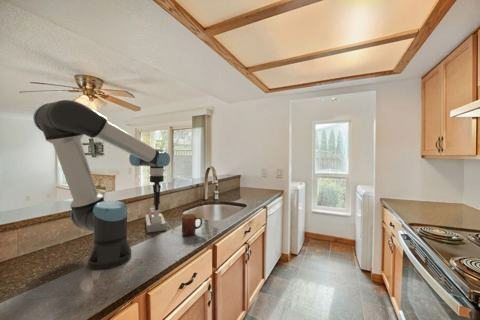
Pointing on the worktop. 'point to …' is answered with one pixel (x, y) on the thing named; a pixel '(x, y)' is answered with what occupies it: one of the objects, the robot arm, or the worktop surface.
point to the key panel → (155, 227)
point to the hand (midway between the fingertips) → (156, 214)
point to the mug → (189, 224)
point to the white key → (156, 219)
